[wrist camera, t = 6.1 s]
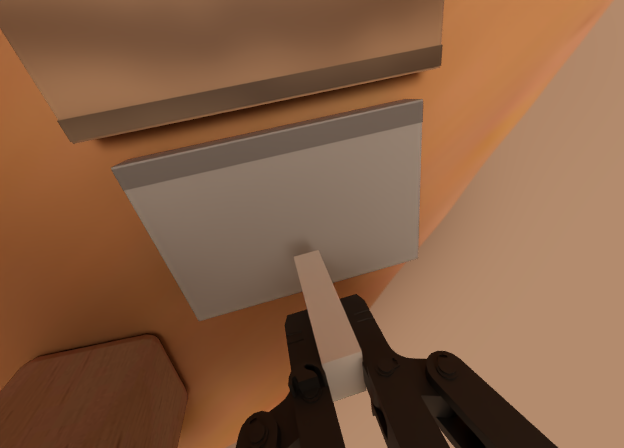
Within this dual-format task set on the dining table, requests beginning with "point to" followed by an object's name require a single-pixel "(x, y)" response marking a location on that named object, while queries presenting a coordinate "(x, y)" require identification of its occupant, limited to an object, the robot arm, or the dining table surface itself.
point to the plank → (282, 204)
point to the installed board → (208, 54)
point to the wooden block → (95, 399)
